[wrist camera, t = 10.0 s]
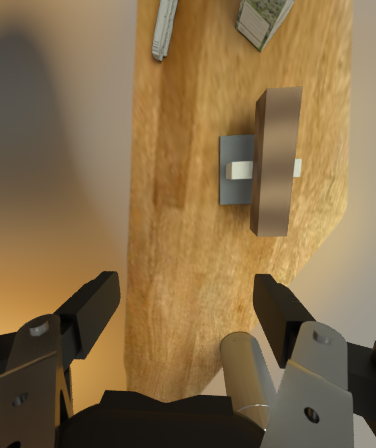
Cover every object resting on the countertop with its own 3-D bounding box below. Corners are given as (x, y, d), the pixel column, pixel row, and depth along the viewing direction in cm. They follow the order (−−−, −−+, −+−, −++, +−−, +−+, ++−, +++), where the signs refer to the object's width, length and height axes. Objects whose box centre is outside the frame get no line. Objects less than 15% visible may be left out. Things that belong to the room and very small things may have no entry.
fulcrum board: (282, 202, 35) (303, 208, 28) (219, 203, 36) (224, 210, 29) (288, 133, 32) (313, 122, 25) (219, 137, 33) (225, 127, 26)
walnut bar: (256, 102, 25) (266, 88, 21) (286, 100, 25) (302, 86, 21) (249, 228, 29) (257, 236, 26) (275, 228, 29) (287, 236, 25)
